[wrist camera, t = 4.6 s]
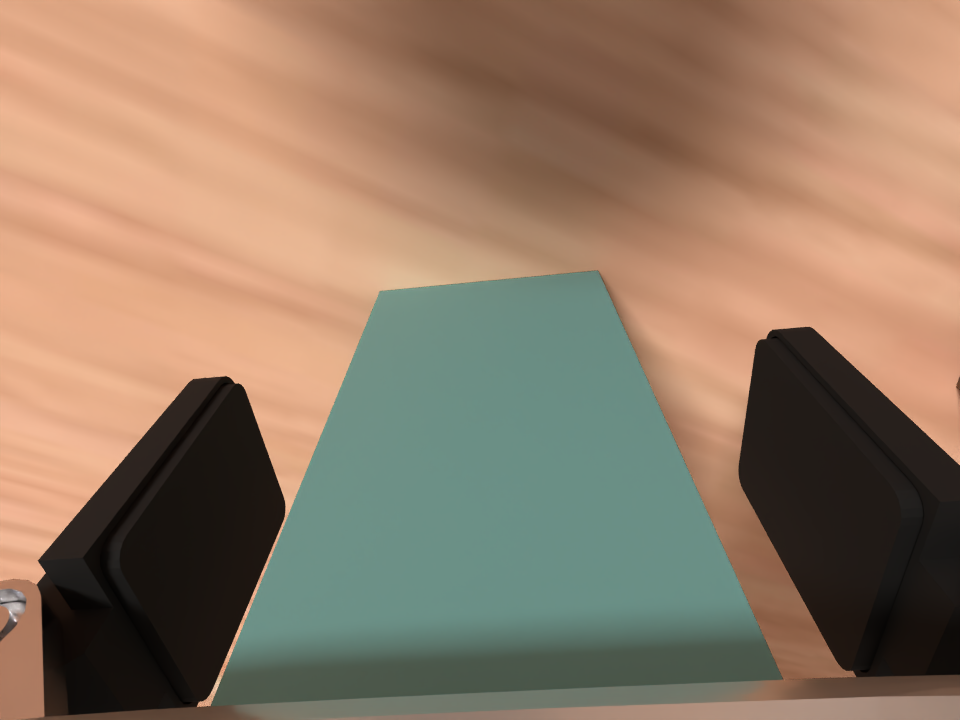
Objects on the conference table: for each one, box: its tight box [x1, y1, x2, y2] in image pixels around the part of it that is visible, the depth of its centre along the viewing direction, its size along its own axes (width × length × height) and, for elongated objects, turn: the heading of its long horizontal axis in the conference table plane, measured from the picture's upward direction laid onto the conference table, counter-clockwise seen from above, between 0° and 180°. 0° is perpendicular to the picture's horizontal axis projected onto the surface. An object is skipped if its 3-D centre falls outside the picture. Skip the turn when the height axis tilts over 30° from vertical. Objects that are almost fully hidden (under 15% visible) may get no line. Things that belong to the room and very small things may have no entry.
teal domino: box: [211, 271, 783, 706], centre depth 10 cm, size 2×5×10 cm, turn 96°
